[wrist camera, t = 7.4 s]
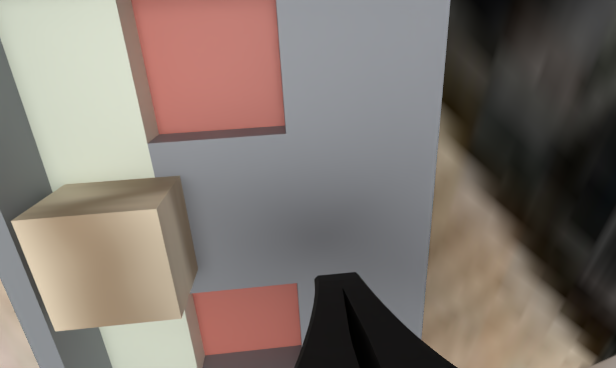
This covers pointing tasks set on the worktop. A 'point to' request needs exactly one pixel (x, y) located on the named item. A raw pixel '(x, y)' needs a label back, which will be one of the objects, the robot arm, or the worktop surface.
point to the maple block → (110, 252)
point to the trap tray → (230, 157)
